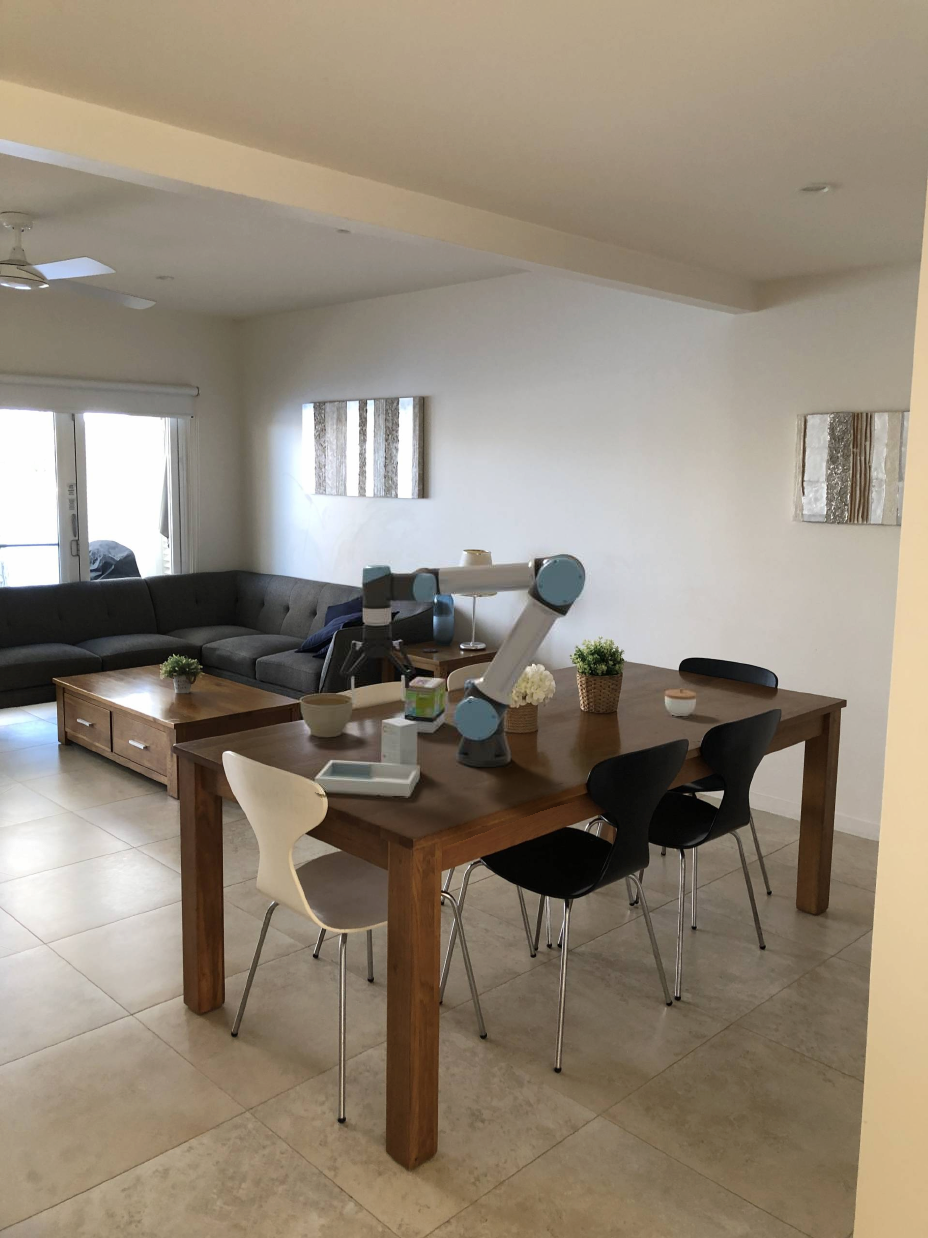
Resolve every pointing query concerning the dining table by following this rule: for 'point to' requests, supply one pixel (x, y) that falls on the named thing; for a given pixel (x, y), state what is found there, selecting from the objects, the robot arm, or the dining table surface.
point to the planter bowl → (326, 713)
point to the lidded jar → (680, 702)
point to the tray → (368, 778)
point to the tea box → (425, 703)
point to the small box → (399, 741)
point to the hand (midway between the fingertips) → (378, 700)
